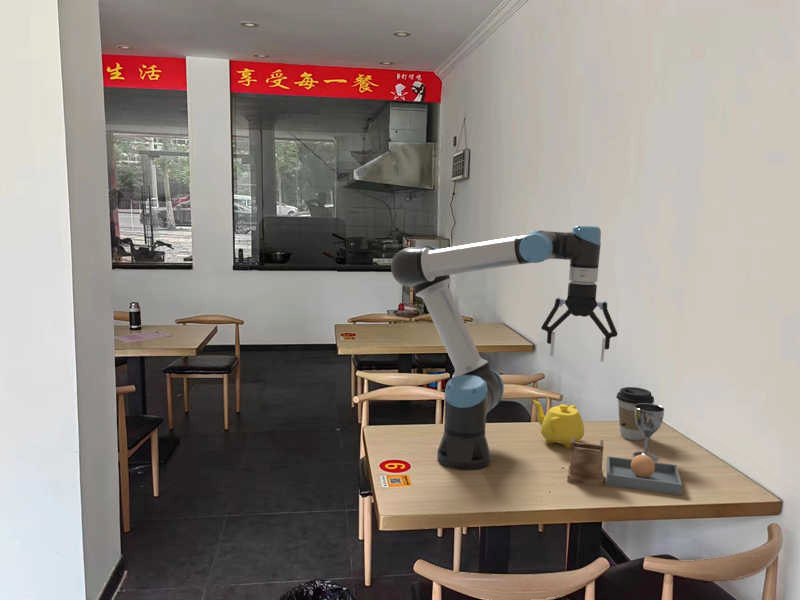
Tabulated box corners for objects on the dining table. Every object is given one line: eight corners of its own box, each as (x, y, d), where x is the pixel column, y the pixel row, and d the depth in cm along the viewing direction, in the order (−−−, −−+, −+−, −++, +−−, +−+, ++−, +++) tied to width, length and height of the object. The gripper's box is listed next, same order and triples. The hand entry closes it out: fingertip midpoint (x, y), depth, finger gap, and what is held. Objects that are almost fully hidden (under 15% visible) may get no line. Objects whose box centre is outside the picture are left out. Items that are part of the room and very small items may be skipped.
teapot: (571, 432, 202) (573, 396, 200) (592, 448, 188) (595, 411, 186) (530, 434, 199) (532, 398, 198) (549, 451, 186) (551, 413, 184)
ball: (629, 470, 171) (631, 450, 170) (653, 473, 169) (654, 452, 168) (630, 479, 165) (631, 458, 164) (654, 482, 163) (656, 461, 162)
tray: (606, 484, 164) (607, 474, 163) (606, 465, 176) (607, 456, 175) (681, 495, 158) (682, 484, 158) (675, 474, 170) (676, 465, 170)
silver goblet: (662, 463, 178) (666, 412, 176) (633, 460, 180) (637, 410, 178) (657, 452, 186) (661, 404, 184) (629, 450, 188) (632, 402, 185)
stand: (567, 481, 165) (569, 443, 164) (568, 470, 172) (570, 434, 170) (602, 486, 162) (605, 448, 161) (602, 475, 169) (605, 439, 168)
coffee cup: (607, 430, 204) (610, 386, 202) (640, 429, 205) (643, 385, 203) (623, 443, 193) (626, 396, 190) (658, 442, 194) (662, 396, 192)
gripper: (535, 280, 171) (529, 355, 174) (631, 287, 163) (624, 366, 167) (538, 277, 178) (532, 350, 181) (630, 284, 170) (623, 359, 174)
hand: (576, 357), depth 174 cm, fingers open, 13 cm apart
